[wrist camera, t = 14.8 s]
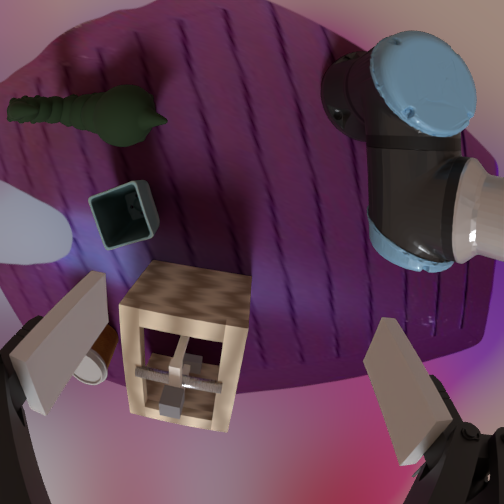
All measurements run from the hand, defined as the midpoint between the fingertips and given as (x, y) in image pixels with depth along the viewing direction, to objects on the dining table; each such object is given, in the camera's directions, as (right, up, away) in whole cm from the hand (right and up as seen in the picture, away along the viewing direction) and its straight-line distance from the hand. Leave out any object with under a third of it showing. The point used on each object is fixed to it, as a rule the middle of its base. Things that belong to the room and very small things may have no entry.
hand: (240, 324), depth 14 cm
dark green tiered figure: (-23, +27, +32) cm, 48 cm away
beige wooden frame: (-10, -11, +46) cm, 48 cm away
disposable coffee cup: (-31, -15, +48) cm, 59 cm away
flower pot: (-19, +12, +38) cm, 44 cm away
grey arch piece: (-10, -12, +40) cm, 43 cm away
